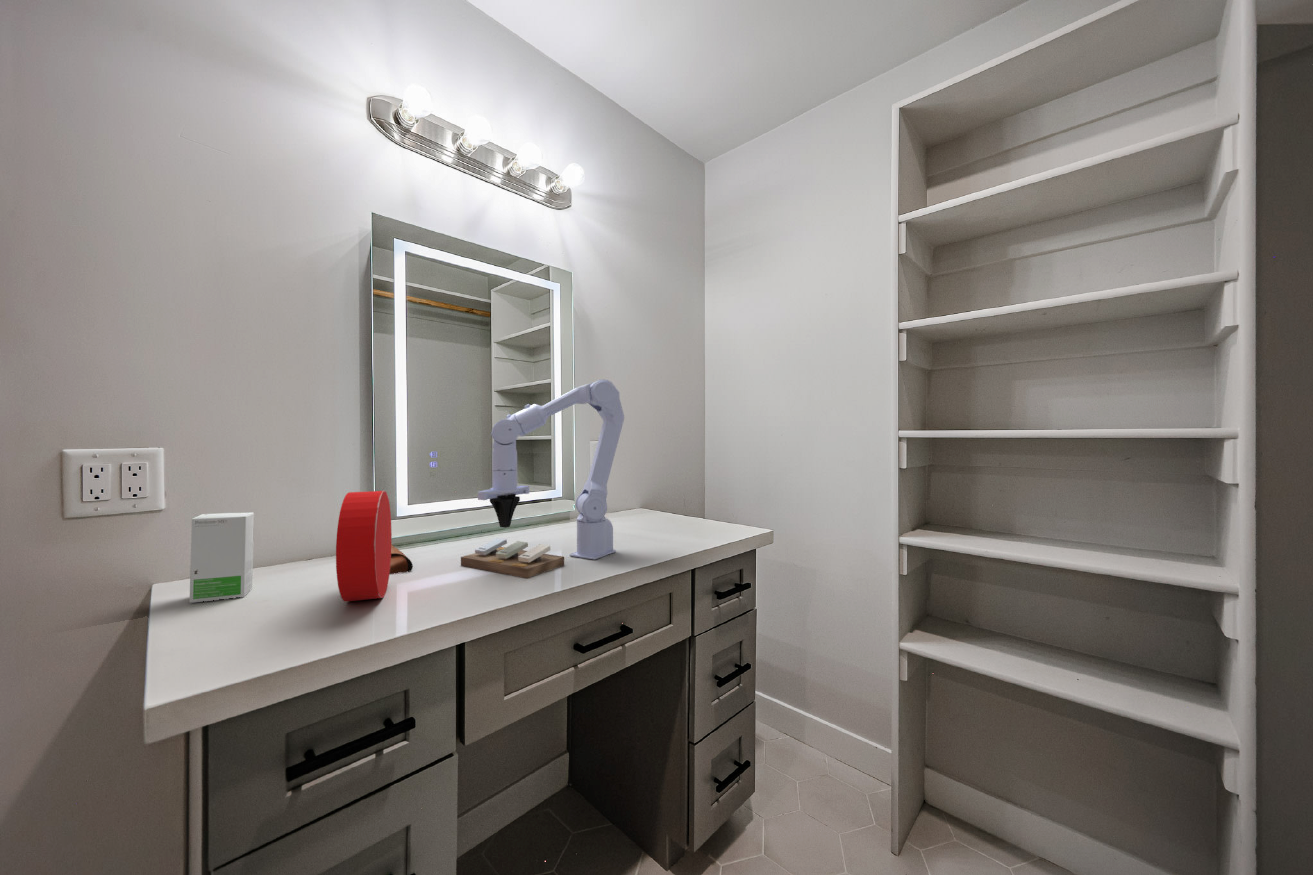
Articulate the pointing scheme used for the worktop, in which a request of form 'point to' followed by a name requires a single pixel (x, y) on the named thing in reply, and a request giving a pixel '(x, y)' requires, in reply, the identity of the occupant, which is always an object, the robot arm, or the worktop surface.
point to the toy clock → (363, 546)
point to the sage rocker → (512, 549)
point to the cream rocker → (534, 553)
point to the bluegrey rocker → (490, 546)
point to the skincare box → (221, 556)
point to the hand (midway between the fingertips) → (504, 526)
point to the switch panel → (512, 563)
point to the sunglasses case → (399, 561)
